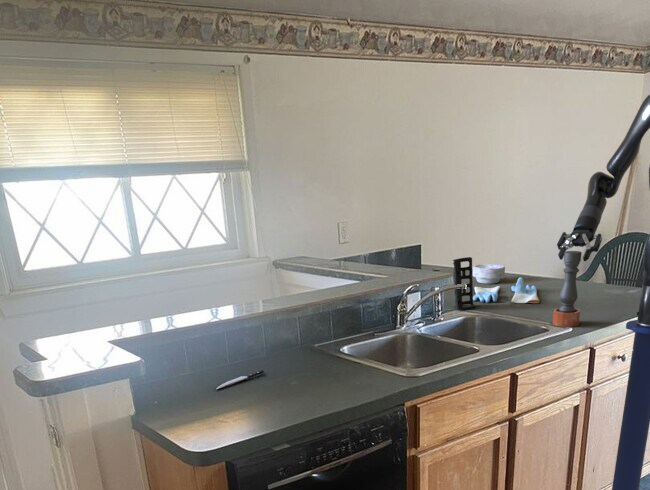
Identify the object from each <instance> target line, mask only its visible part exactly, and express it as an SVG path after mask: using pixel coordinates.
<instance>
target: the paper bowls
mask: <svg viewBox="0 0 650 490" xmlns="http://www.w3.org/2000/svg"><path fill="white" fill-rule="evenodd" d="M505 271H506V266H505V265H503V264H495V263H479V264H474V265H472V277H474V278H475V280H476V282H477V283H479V284H481V285H482V284H483V285H484V284H485V285H492V284H493V285H494V284H497V283H499V282H500V280H501V279H502V278H504V277H505V275H506V273H505Z"/></svg>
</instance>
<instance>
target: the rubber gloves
mask: <svg viewBox="0 0 650 490" xmlns="http://www.w3.org/2000/svg"><path fill="white" fill-rule="evenodd" d="M473 289H474V292H475V294H473V302H476V301H478V299H479V301H480V302H481V303H484V302H485V303H486V304H488V303H490V302H491V300H492V302H493V303H496V302H497V301H498V299H499V291H500V289H501V286H500V285H497V286H495V287H481V286H474V288H473ZM511 291H512V292H513V293H514V294H513V297H512V299H511V301H510V303H511V304H527V303H528V304H539V303H540V298H539V297H538V290H537V287H536V286H535V285H532V286H530V284H526V286H525V280H524V278H523V277H518V279H517V280H516V284H515V285H512V286H511Z"/></svg>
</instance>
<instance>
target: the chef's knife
mask: <svg viewBox="0 0 650 490" xmlns="http://www.w3.org/2000/svg"><path fill="white" fill-rule="evenodd" d="M263 373H265V371H264V370H263V369H260V370H259V371H257V372H254V373H251V374H247V375H245V376H243V375H242V376H238V377H236V378H234V379H231V380H228V381H226V382H223V383H222V384H220V385H219V386H217V387H216V388H215V390H219V389H222V388H225V387H228V386H231V385H233V384H236V383H239V382H242V381H244V380H248V379H251V378H253V377H257V376H258V375H261V374H263Z"/></svg>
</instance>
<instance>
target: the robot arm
mask: <svg viewBox="0 0 650 490" xmlns="http://www.w3.org/2000/svg"><path fill="white" fill-rule="evenodd" d="M649 130H650V94H648V95H647V96H646V97H645V98H644V100H643V101H642V103H641V105H640V107H639V109H638V110H637V112H636V114H635V116H634V119H633V121H632V123H631V124H630V126H629V128H628V131H627V132H626V134H625V136H624V137H623V140H622V141H621V143H620V144H619V146H618V147H617V149H616V150H615V151H614V153H613V154H612V156H611V157H610V159H609V160H608V161H607V163H606V165H605V167H606V171H607V172H608V173H609V174H610V175H609V174H607V173H605V172H602V171H596V172H594V173H593V174H592V176H590V178H589V181H588V184H587V196H586V201H585V203H584V205H583V207H582V209H581V210H580V213H579V214H578V217H577V219H576V222H575V224H574V227H573V229H572V231H571V233H567V232H566V231H563V232H562V233H561V235H560V237H559V239H558V241H557V244H556V247H557V249H558V251H559V252H558V254H557V255H558V258H559V260H561V261H562V260H564V253H565V252H566V251H569V249H572V248H574V247H580V248H584V247H585V248H586V249H585V252H584V254H583V256H582V260H583V262H587V261H588V260H589V259H590V258H591V255H592V253H594V252H595V253H598V252H599V249H600V247H601V244H602V241H603V237H602V234H601V233H598V234H596V232H597V230H598V228H599V225H600V224H601V220H602V217H603V213H604V211H605V209H606V207H607V203H608V202H607V201H608V200H607V199H611V198H613V197H615V196H616V194H617V193H618V192H619V191H618V190H619V188H620V185H621V183H622V180H623V179H624V176H625V175H626V173H627V171H628V170H629V168H630V167H631V166H632V164H633V163H634V162H635V160H636V159H637V157H638V155H639V153H640V148H641V144H642V141H643V138H644V136H645V134H647V132H648V131H649ZM648 189H649V190H650V165H649V166H648ZM593 241H594V244H593V245H591V242H593ZM643 251H644V252H643V263H642V266H643V279H642V286H641V293H640V299H639V306H638V311H637V312H636V316H637V319H636V320H637V325H638V326H641V327H646V328H650V233H649V234H648V236H647V237H646V240H645V244H644V250H643Z"/></svg>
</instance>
